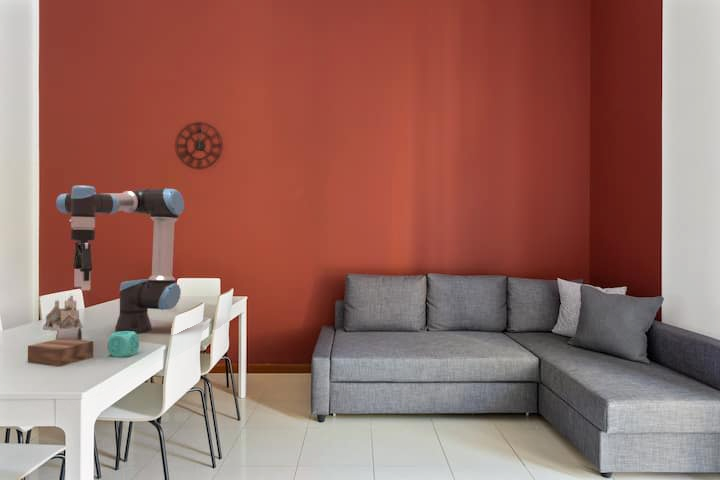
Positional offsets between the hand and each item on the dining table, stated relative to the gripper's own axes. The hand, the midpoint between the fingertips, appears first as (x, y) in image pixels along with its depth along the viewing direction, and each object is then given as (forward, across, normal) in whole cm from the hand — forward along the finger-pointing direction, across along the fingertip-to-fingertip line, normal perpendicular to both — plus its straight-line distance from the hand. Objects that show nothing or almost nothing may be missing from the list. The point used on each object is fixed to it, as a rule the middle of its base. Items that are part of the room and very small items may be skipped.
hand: (82, 288), depth 183 cm
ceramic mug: (+25, -18, -1) cm, 31 cm away
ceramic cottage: (+25, -63, +3) cm, 68 cm away
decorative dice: (+25, +4, +13) cm, 28 cm away
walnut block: (+25, 0, -6) cm, 26 cm away
